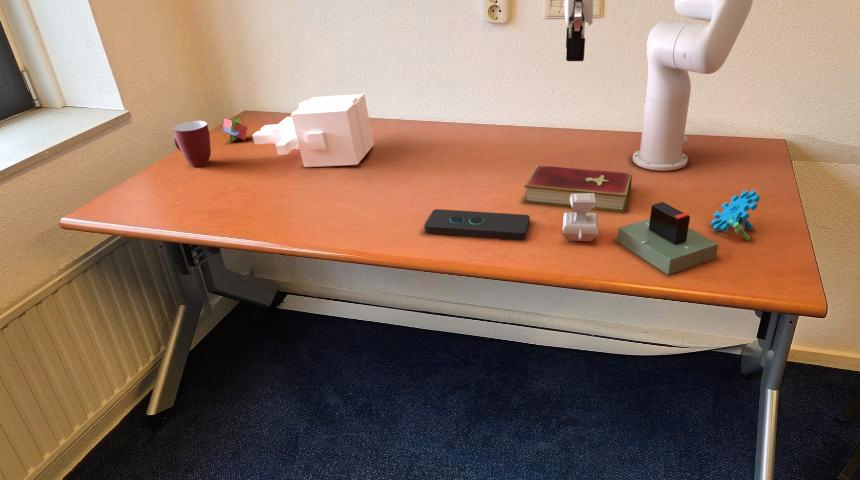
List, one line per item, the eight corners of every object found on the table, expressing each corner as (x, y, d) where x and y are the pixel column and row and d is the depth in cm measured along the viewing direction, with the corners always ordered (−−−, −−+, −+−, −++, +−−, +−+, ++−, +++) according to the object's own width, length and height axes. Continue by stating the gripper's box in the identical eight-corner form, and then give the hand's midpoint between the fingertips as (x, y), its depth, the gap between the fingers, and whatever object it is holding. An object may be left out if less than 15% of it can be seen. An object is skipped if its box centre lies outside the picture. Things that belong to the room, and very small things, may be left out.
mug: (168, 167, 166) (157, 129, 161) (189, 156, 173) (178, 119, 167) (203, 171, 163) (192, 132, 158) (223, 159, 170) (213, 121, 164)
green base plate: (616, 242, 125) (617, 227, 123) (662, 227, 129) (664, 213, 127) (667, 275, 114) (670, 259, 112) (716, 258, 118) (719, 242, 116)
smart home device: (433, 207, 136) (530, 213, 132) (434, 215, 137) (530, 221, 133) (423, 226, 129) (524, 232, 125) (423, 233, 130) (524, 241, 126)
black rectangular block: (648, 229, 122) (651, 203, 119) (659, 226, 123) (662, 200, 120) (675, 245, 117) (679, 218, 114) (686, 241, 117) (690, 214, 115)
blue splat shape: (710, 206, 132) (755, 179, 125) (728, 226, 133) (774, 200, 127) (707, 238, 124) (755, 210, 117) (727, 259, 125) (775, 233, 119)
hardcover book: (536, 180, 150) (537, 163, 148) (630, 189, 144) (632, 171, 142) (524, 202, 141) (524, 184, 139) (624, 212, 135) (626, 193, 133)
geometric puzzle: (259, 129, 182) (238, 106, 180) (246, 137, 177) (225, 113, 174) (243, 143, 186) (223, 120, 183) (231, 152, 180) (209, 128, 178)
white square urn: (562, 226, 131) (564, 186, 126) (596, 226, 130) (599, 187, 126) (562, 247, 123) (564, 206, 119) (598, 248, 123) (601, 207, 118)
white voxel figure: (286, 145, 182) (383, 139, 177) (246, 180, 162) (354, 176, 156) (272, 91, 175) (372, 84, 169) (228, 122, 154) (340, 114, 148)
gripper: (604, -41, 108) (596, 66, 117) (599, -51, 123) (592, 44, 132) (558, -40, 109) (554, 66, 118) (558, -51, 124) (555, 44, 133)
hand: (574, 54), depth 125 cm, fingers open, 9 cm apart
